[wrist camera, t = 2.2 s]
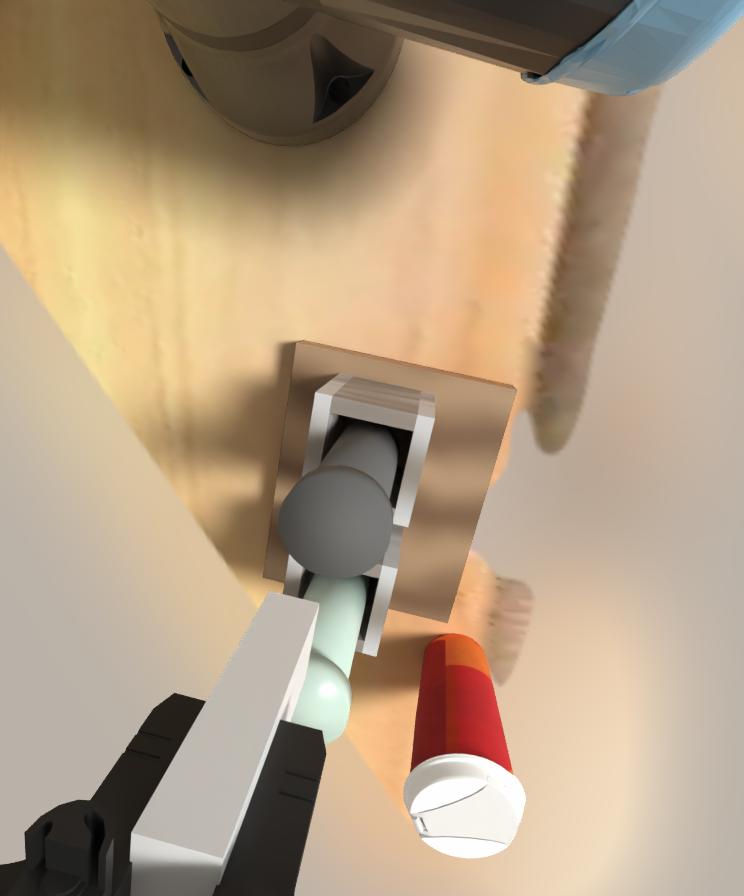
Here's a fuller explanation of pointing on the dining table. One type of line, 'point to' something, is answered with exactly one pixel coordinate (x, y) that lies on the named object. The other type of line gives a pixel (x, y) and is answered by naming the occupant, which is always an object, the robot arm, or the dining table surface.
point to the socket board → (417, 474)
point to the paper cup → (461, 756)
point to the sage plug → (331, 653)
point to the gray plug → (344, 505)
